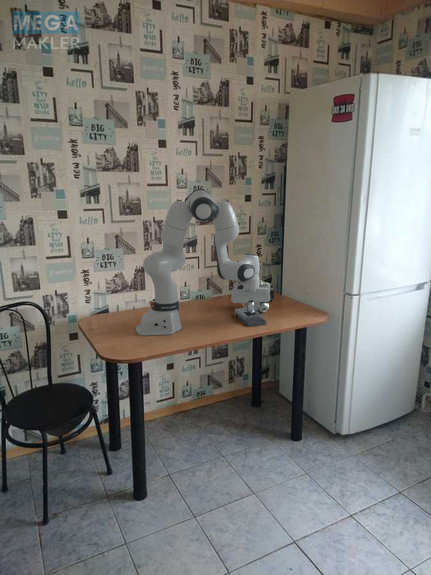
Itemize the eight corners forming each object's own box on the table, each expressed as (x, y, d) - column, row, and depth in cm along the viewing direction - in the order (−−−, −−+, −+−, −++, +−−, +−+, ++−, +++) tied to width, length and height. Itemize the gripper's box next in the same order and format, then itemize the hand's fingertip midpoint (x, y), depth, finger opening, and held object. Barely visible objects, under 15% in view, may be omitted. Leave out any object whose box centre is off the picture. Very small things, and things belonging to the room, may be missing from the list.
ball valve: (275, 314, 228) (276, 282, 224) (262, 316, 225) (262, 284, 221) (260, 305, 244) (261, 276, 240) (247, 307, 241) (247, 277, 237)
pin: (248, 317, 215) (248, 301, 213) (244, 315, 219) (244, 299, 217) (256, 316, 217) (256, 300, 215) (252, 314, 221) (252, 298, 219)
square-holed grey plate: (247, 326, 208) (248, 319, 208) (234, 315, 227) (234, 308, 226) (266, 324, 211) (266, 318, 210) (251, 313, 230) (251, 307, 229)
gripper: (269, 282, 218) (268, 307, 221) (230, 283, 216) (230, 309, 220) (272, 285, 212) (271, 311, 215) (232, 286, 210) (232, 312, 214)
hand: (250, 310), depth 218 cm, fingers closed on pin, 4 cm apart
